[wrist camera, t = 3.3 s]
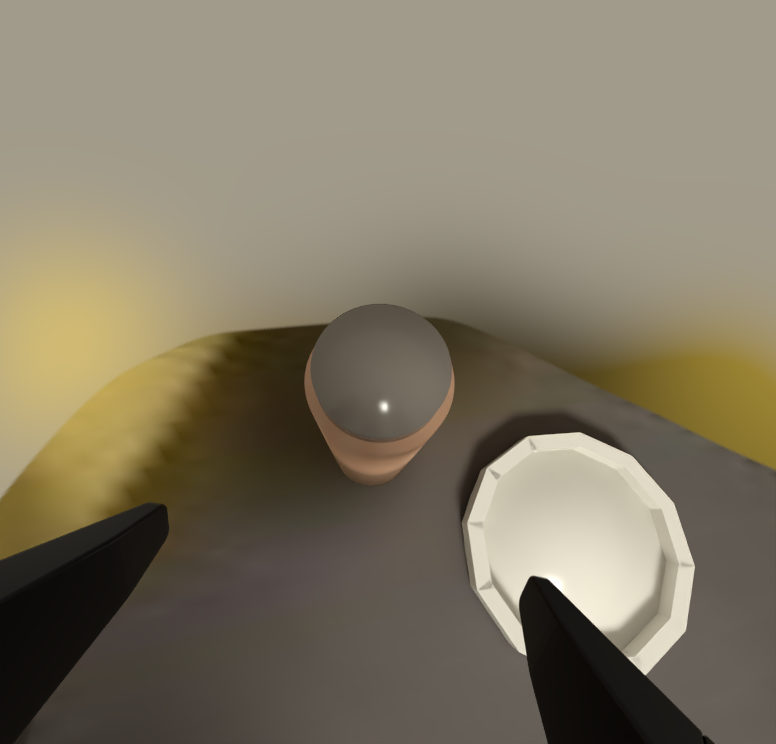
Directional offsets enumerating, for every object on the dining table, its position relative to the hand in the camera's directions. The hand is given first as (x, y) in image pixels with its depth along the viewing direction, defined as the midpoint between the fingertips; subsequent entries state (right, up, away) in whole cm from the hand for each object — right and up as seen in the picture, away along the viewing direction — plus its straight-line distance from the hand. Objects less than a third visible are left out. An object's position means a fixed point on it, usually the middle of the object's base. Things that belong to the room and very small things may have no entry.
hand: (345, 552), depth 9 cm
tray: (+11, -5, +12) cm, 17 cm away
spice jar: (0, 0, +13) cm, 13 cm away
